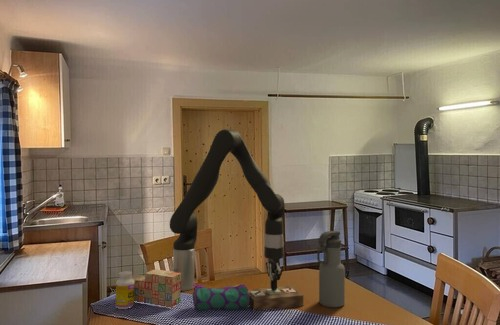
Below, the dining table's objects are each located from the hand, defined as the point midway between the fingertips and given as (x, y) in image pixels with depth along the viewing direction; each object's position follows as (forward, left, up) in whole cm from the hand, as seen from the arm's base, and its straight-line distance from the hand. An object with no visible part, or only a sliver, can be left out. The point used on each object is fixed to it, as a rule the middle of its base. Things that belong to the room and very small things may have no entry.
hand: (273, 289), depth 148 cm
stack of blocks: (-45, +13, -6) cm, 47 cm away
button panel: (0, 0, -5) cm, 5 cm away
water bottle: (+21, -7, -5) cm, 23 cm away
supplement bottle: (-56, +11, -6) cm, 57 cm away
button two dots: (+6, 0, -3) cm, 7 cm away
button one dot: (0, 0, -3) cm, 3 cm away
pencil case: (-21, 0, -6) cm, 22 cm away
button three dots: (-7, 0, -3) cm, 7 cm away
